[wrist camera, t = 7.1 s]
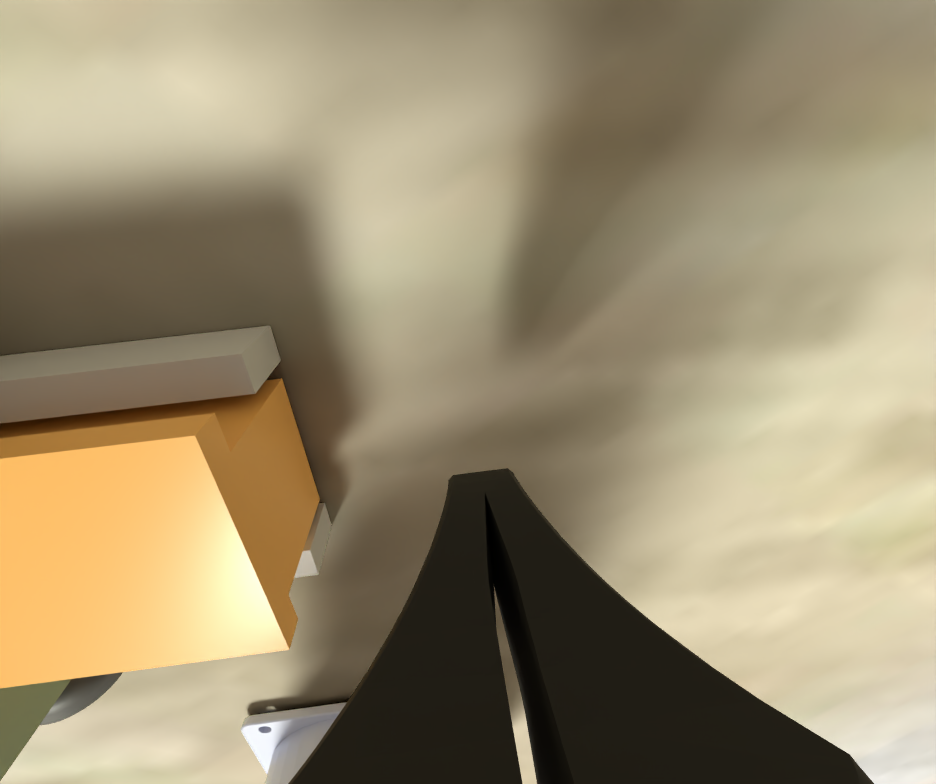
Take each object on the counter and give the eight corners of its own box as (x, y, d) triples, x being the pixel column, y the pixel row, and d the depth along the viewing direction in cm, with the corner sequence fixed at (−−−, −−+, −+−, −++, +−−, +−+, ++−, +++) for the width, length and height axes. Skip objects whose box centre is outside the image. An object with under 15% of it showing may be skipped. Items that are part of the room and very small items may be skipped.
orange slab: (272, 347, 12) (194, 435, 8) (326, 521, 14) (289, 649, 10) (-43, 383, 11) (-283, 492, 8) (73, 552, 14) (-60, 696, 10)
